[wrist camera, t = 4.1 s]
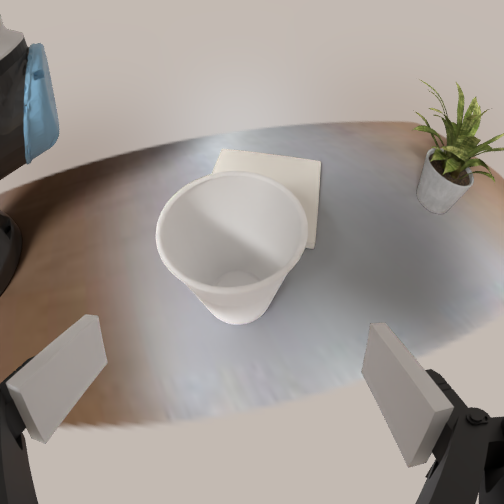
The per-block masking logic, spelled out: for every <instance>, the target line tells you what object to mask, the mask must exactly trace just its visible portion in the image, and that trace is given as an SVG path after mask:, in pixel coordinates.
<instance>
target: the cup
mask: <svg viewBox="0 0 504 504" xmlns="http://www.w3.org/2000/svg"><path fill="white" fill-rule="evenodd" d="M307 238H308V222H307V218H306V214H305V211H304V209H303V207H302V205H301V204H300V202H299V200H298V199H297V198H296V197H295V195H294V194H293V193H292V192H291V191H290V190H289V189H287V188H286V187H285V186H283V185H282V184H281V183H279V182H277V181H275V180H273V179H271V178H269V177H266V176H263V175H260V174H257V173H251V172H246V171H226V172H218V173H214V174H210V175H206V176H204V177H201V178H199V179H196V180H194V181H192V182H191V183H189V184H187V185H185V186H184V187H183V188H181V189H180V190H179V191H178V192H176V193H175V194H174V195H173V196H172V197H171V199H170V200H169V201H168V202H167V203H166V205H165V207H164V208H163V210H162V212H161V214H160V217H159V219H158V223H157V227H156V243H157V250H158V252H159V254H160V257H161V259H162V261H163V263H164V264H165V266H166V267H167V268H168V270H169V271H170V272H171V273H172V274H173V275H174V276H176V277H177V278H178V279H179V280H180V281H182V282H183V283H185V284H186V285H187V286H188V287H189V289H190V290H191V291H192V292H193V293H194V294H195V295H196V296H197V297H198V298H199V300H200V301H201V302H202V303H203V304H204V305H205V306H206V307H207V308H208V310H209V311H210V312H211V313H212V314H213V315H214V316H215V317H216V318H218V319H219V320H221V321H223V322H225V323H229V324H235V325H240V324H247V323H250V322H252V321H254V320H256V319H258V318H259V317H260V316H262V315H263V314H264V313H265V311H266V310H267V308H268V307H269V305H270V303H271V301H272V300H273V298H274V296H275V294H276V293H277V291H278V289H279V287H280V286H281V284H282V282H283V281H284V279H285V277H286V275H287V274H288V272H290V270H291V269H292V268H293V267H294V266H295V264H296V263H297V262H298V261H299V259H300V257H301V255H302V253H303V251H304V250H305V247H306V243H307Z"/></svg>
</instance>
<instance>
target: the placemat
mask: <svg viewBox="0 0 504 504" xmlns="http://www.w3.org/2000/svg"><path fill="white" fill-rule="evenodd" d="M226 171H246V172H251V173H257V174H260V175H263V176H266V177H269V178H271V179H273V180H275V181H277V182H279V183H281V184H282V185H283V186H285V187H286V188H287V189H289V190H290V191H291V192H292V193H293V194H294V195H295V197H296V198H297V199H298V200H299V202H300V204H301V205H302V207H303V209H304V211H305V214H306V218H307V222H308V238H307V243H306V247H305V248H309V249H314V245H315V238H316V227H317V215H318V201H319V187H320V171H321V161H315V160H309V159H303V158H296V157H289V156H282V155H274V154H266V153H258V152H249V151H240V150H230V149H222V150H221V152H220V155H219V157H218V159H217V162H216V164H215V166H214V169H213V171H212V174H214V173H218V172H226Z"/></svg>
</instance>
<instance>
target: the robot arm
mask: <svg viewBox="0 0 504 504" xmlns="http://www.w3.org/2000/svg"><path fill="white" fill-rule="evenodd" d="M58 136H59V122H58V115H57V109H56V104H55V98H54V93H53V88H52V83H51V77H50V72H49V67H48V62H47V58H46V55H45V51H44V46H43V45H42V44H41V43H38V44H32V45H30V47H27V45H26V42H25V39H24V35H23V33H22V32H18V31H14V30H9V29H6V28H5V26H4V25H3V22H2V19H1V15H0V180H1V179H3V178H4V177H6V176H7V175H9V174H10V173H12V172H13V171H15V170H16V169H18V168H19V167H21V166H23V165H24V164H26V163H27V164H29V163H31V161H32V159H34V158H35V157H37V156H39V155H40V154H42V153H43V152H45V151H46V150H48V149H50V148H51V147H52V146H53V145H54V144H55V143H56V141H57V139H58ZM21 247H22V236H21V232H20V229H19V227H18V226H17V225H16V223H15V222H14V221H13V220H12V218H11V217H10V216H9V215H8V214H6V213H4V212H3V211H1V210H0V294H1V293H2V292H3V291H4V289H5V288H6V286H7V285H8V283H9V281H10V279H11V278H12V276H13V273H14V271H15V269H16V266H17V264H18V261H19V257H20V253H21ZM106 364H107V358H106V354H105V349H104V345H103V340H102V335H101V329H100V324H99V318H98V316H96V315H87V314H86V315H84V316H83V317H82V318H81V319H79V320H78V321H77V322H76V323H75V324H73V325H72V326H71V327H70V328H68V329H67V330H66V331H65V332H64V333H62V334H61V335H60V336H59V337H58V338H56V339H55V340H54V341H53V342H52V343H50V344H49V345H48V346H47V347H46V348H45V349H43V350H42V351H41V352H40V353H39V354H38V355H36V356H34V357H32V358H29V359H28V360H27V361H25V362H24V363H23V364H22V366H20V367H18V368H17V369H16V371H14V372H13V373H12V374H11V375H9V376H8V377H7V378H6V379H5V380H4V381H3V382H2V383H0V504H38V501H37V497H36V494H35V489H34V485H33V480H32V476H31V471H30V467H29V461H28V455H27V448H26V442H25V438H24V435H23V433H22V432H23V431H24V429H25V428H26V429H27V430H28V432H29V434H30V436H31V438H32V439H35V440H37V441H39V442H42V443H44V444H46V443H47V441H48V440H49V439H50V437H51V436H52V434H53V433H54V432H55V430H56V429H57V428H58V426H59V425H60V424H61V422H62V421H63V420H64V418H65V417H66V416H67V414H68V413H69V412H70V410H71V409H72V408H73V406H74V405H75V404H76V403H77V401H78V400H79V399H80V397H81V396H82V395H83V393H84V392H85V391H86V389H87V388H88V387H89V386H90V384H91V383H92V382H93V381H94V379H95V378H96V377H97V375H98V374H99V373H100V372H101V370H102V369H103V368H104V367H105V365H106ZM361 372H362V374H363V376H364V378H365V380H366V382H367V384H368V386H369V388H370V390H371V392H372V394H373V396H374V398H375V400H376V402H377V404H378V406H379V408H380V410H381V412H382V414H383V416H384V418H385V420H386V422H387V424H388V426H389V428H390V430H391V433H392V435H393V437H394V439H395V441H396V443H397V445H398V447H399V449H400V451H401V454H402V456H403V458H404V460H405V462H406V464H407V466H408V467H413V466H417V465H420V464H424V463H426V462H427V460H428V458H429V457H430V455H431V453H433V454H434V456H435V458H436V460H435V462H434V464H433V465H432V467H431V468H430V470H429V472H428V474H427V475H426V477H427V480H426V482H425V484H424V487H423V489H422V491H421V493H420V495H419V498H418V500H417V502H416V504H475V503H476V500H477V496H478V492H479V504H504V417H493V418H490V416H489V415H488V413H486V412H485V411H483V410H481V409H479V408H472V407H471V408H468V407H467V406H466V405H465V403H464V402H463V401H462V400H461V398H459V396H458V395H457V394H456V392H455V391H454V390H453V389H451V387H450V385H449V384H447V382H446V381H445V379H444V378H442V376H441V375H440V374H438V373H437V372H435V371H433V370H432V369H430V370H424V369H423V367H422V366H421V365H420V364H419V362H418V361H417V360H416V359H415V358H414V356H413V355H412V354H411V353H410V352H409V350H408V349H407V348H406V347H405V346H404V344H403V343H402V342H401V341H400V340H399V339H398V337H397V336H396V335H395V334H394V333H393V332H392V330H391V329H390V328H389V327H388V326H387V325H386V323H370V329H369V335H368V341H367V346H366V352H365V357H364V362H363V367H362V371H361Z"/></svg>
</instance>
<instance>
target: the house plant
mask: <svg viewBox="0 0 504 504" xmlns="http://www.w3.org/2000/svg"><path fill="white" fill-rule="evenodd" d="M424 83H425V82H424ZM425 84H427V83H425ZM456 84H457V83H456ZM427 85H428V84H427ZM428 86H429V87H431V86H430V85H428ZM457 87H458V92H459V101H458V109H457V124H455V123H454V122H451V121H450V120H449V119H448V117H447V116H445V115H444V116H445V118H446V120H447V121H446V120H445V119H444V118H442V120H443V122H444V124H445V128H446V133H447V146H444V144H443V142H442V140H441V138H440V136H439V135H438V134H437V132H436V131H435V130H433V129H431V128H430V126H429V124H428V122H427V120H426V119H425V118H424V117H423V116H421V115H420V114H419V113H417V112H416V113H417V114H418V115H419V116H421V117H422V119H423V120H424V121H425V123H426V124H427V126H428V127H427V126H418V127H416V128H414V129H415V130H419V131H424V132H428V133H431V135H432V137H433V139H434V141H435V143H436V145H437V147H435V146H433V147H431V148H432V149H430V150H429V151H428V152H427V155H426V159H425V163H424V167H423V171H422V174H421V178H420V182H419V185H418V189H417V197H418V200H419V201H420V203H421V204H422V205H423V206H424V207H425V208H426V209H428V210H429V211H431V212H433V213H436V214H444V213H446V212H447V211H448V210H449V209H450V208H451V207H452V206H453V205H454V204H455V203H456V202H457V201H458V200H459V198H460V197H461V196H462V195H463V194H464V193H465V192H466V191H467V190H468V189H469V188H470V187H471V186H472V184H473V182H474V177H473V174H472V173H481V174H484V175H486V176H488V177H490V178H492V180H493V181H494V182H495V180H494V177H493V176H492V174H491V172H490V170H489V168H488V166H487V165H486V164H485V163H484V162H483V161H482V160H480V159H470V158H471V157H474V156H476V155H479V154H481V153H479V154H477V153H478V152H480V151H484V150H486V151H484V152H489V151H501V150H504V148H494V149H492V148H491V147H490V146H489V145H487V144H490V143H491V142H494V141H496V140H497V139H499V138H500V137H502V136H503V135H504V133H503V134H501V135H498V136H496V137H494V138H492V139H491V140H489V141H487V142H485V143H483V144H480V145H478V146H477V144H478V143H479V142H480V140H479V139H477V138H476V137H474V135H475V133H476V131H477V129H478V127H479V124H480V119H481V116H482V115H483V113H485V112H486V111H487V110H486V111H484V112H483V113H482V114H481V110H480V106H479V107H478V103H477V100H476V97H475V98H474V99H473V100H472V102H471V104H470V106H469V108H468V110H467V112H466V114H465V116H464V119H463V123H462V118H463V110H464V95H463V92H462V90H461V88H460V86H459V85H458V84H457ZM431 88H432V87H431ZM432 89H433V88H432ZM433 90H434V89H433ZM434 91H435V90H434ZM436 93H437V92H436ZM433 94H434V93H433ZM437 94H438V93H437ZM435 96H436V95H435ZM438 96H439V94H438ZM436 97H437V96H436ZM439 97H440V96H439ZM437 98H438V97H437ZM440 99H441V97H440ZM441 101H442V100H441ZM442 102H443V101H442ZM443 105H444V103H443ZM442 107H443V106H442ZM444 107H445V106H444ZM429 109H432V110H435V111H437V112H440V113H442V112H441V111H439V110H437V109H434V108H429ZM443 110H444V109H443ZM445 110H446V109H445ZM473 110H474V111H473ZM472 112H473V115H471V114H472ZM444 113H445V112H444ZM446 114H447V113H446ZM434 116H438V115H434ZM439 117H440V116H439ZM414 129H413V130H414ZM433 134H434V135H436V136H438V137H439V139H440V141H441V143H442V144H443V147H441V148H443V149H441V148H439V146H438V144H437V141H436V139H435V137H434V135H433ZM484 152H482V153H484ZM475 154H476V155H475ZM469 159H470V160H469ZM478 165H481V166H484V167H485V168H487V169H488V170H489V172H490V174H489V173H487V172H482V171H475V172H472V171H471V170H470V168H469V167H472V166H478Z"/></svg>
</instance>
